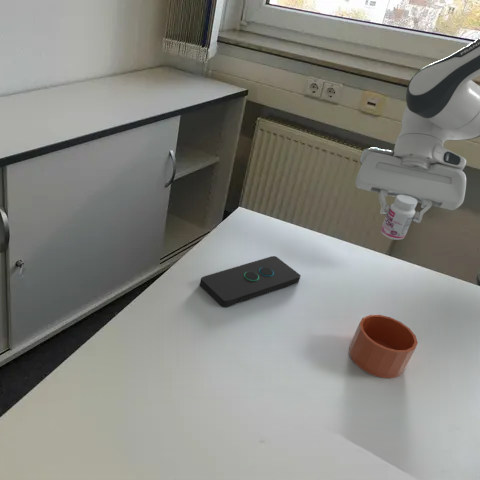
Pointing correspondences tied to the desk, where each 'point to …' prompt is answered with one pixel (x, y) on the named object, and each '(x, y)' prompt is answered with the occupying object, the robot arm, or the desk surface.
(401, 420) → the desk surface
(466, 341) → the desk surface
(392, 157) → the robot arm
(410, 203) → the pill bottle
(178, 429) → the desk surface
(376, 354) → the terracotta cup
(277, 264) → the smart home device
